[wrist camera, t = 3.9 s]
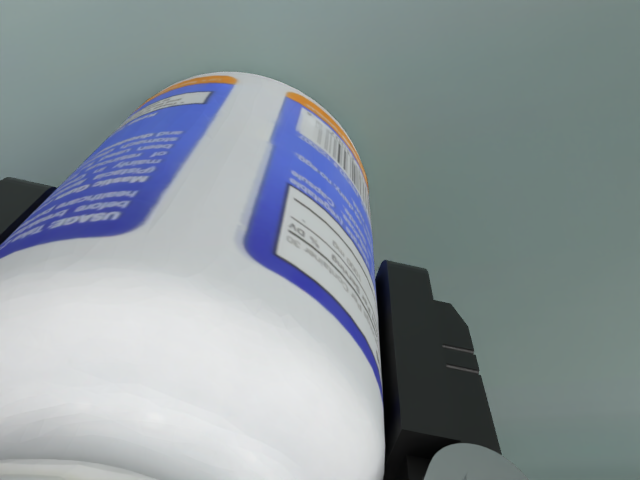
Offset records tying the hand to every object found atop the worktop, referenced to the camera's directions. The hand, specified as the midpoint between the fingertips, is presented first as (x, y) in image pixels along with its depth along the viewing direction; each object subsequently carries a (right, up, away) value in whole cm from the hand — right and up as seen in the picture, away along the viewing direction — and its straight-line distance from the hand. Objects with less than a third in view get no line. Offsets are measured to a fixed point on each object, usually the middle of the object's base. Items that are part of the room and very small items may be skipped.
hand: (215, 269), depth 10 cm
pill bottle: (0, +2, +3) cm, 3 cm away
